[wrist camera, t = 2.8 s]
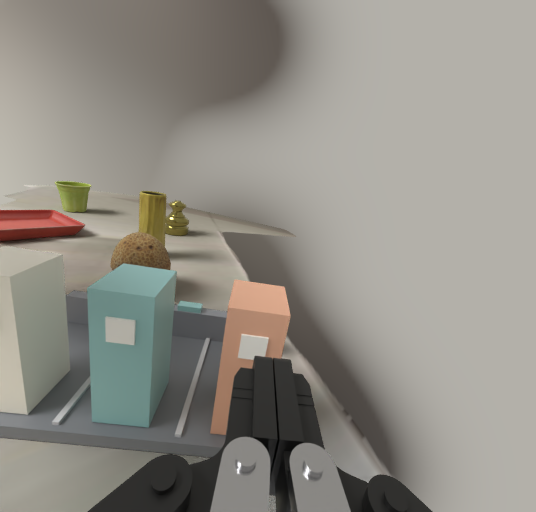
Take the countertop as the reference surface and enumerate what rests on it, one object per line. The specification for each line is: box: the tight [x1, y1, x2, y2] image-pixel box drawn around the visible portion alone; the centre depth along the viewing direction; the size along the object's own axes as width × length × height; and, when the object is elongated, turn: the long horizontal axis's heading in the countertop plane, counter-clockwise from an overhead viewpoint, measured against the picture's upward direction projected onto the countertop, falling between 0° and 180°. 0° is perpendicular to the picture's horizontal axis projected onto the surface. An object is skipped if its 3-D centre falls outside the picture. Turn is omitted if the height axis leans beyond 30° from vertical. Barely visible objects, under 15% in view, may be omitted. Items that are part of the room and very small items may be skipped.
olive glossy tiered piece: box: [165, 200, 189, 236], centre depth 82 cm, size 7×8×10 cm
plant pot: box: [55, 181, 91, 212], centre depth 86 cm, size 9×9×9 cm
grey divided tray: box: [0, 290, 227, 457], centre depth 27 cm, size 15×25×6 cm, turn 92°
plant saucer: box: [0, 210, 85, 241], centre depth 63 cm, size 18×18×3 cm
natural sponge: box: [111, 232, 171, 270], centre depth 45 cm, size 9×9×10 cm
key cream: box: [0, 246, 70, 415], centre depth 22 cm, size 5×4×12 cm
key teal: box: [87, 263, 177, 428], centre depth 22 cm, size 5×4×12 cm
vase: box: [139, 191, 166, 247], centre depth 59 cm, size 6×6×14 cm
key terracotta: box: [210, 280, 290, 435], centre depth 23 cm, size 5×4×12 cm
